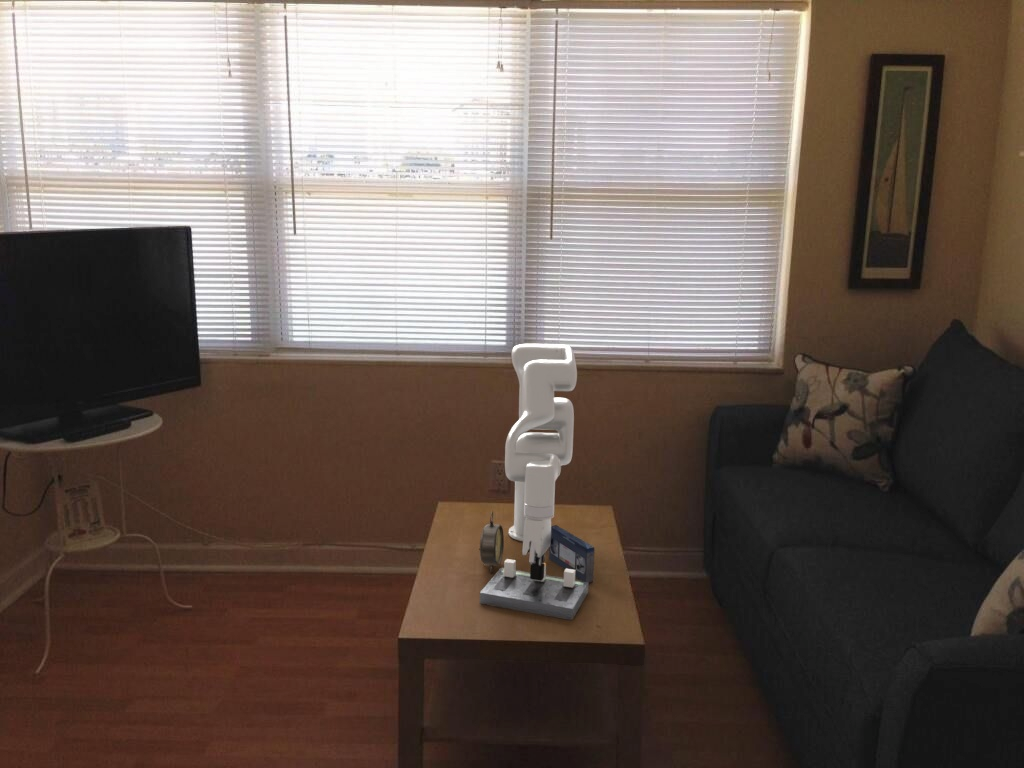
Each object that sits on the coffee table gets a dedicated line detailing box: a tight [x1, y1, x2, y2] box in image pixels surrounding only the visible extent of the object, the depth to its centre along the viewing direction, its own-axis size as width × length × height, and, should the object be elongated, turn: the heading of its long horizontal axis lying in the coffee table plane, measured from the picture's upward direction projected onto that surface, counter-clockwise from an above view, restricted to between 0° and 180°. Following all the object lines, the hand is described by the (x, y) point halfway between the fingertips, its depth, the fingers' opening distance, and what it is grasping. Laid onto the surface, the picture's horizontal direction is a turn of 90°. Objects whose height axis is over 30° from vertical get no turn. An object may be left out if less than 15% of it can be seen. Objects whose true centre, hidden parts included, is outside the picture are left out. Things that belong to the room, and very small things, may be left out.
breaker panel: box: [479, 567, 590, 621], centre depth 232 cm, size 16×24×3 cm, turn 71°
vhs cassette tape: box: [548, 524, 595, 583], centre depth 248 cm, size 18×3×10 cm, turn 29°
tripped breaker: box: [536, 562, 547, 582], centre depth 235 cm, size 2×2×4 cm
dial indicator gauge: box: [478, 510, 505, 574], centre depth 248 cm, size 11×5×16 cm, turn 168°
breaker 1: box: [503, 558, 517, 578], centre depth 237 cm, size 2×2×4 cm
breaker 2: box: [563, 568, 576, 588], centre depth 232 cm, size 2×2×4 cm
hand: (536, 578), depth 232 cm, fingers closed
